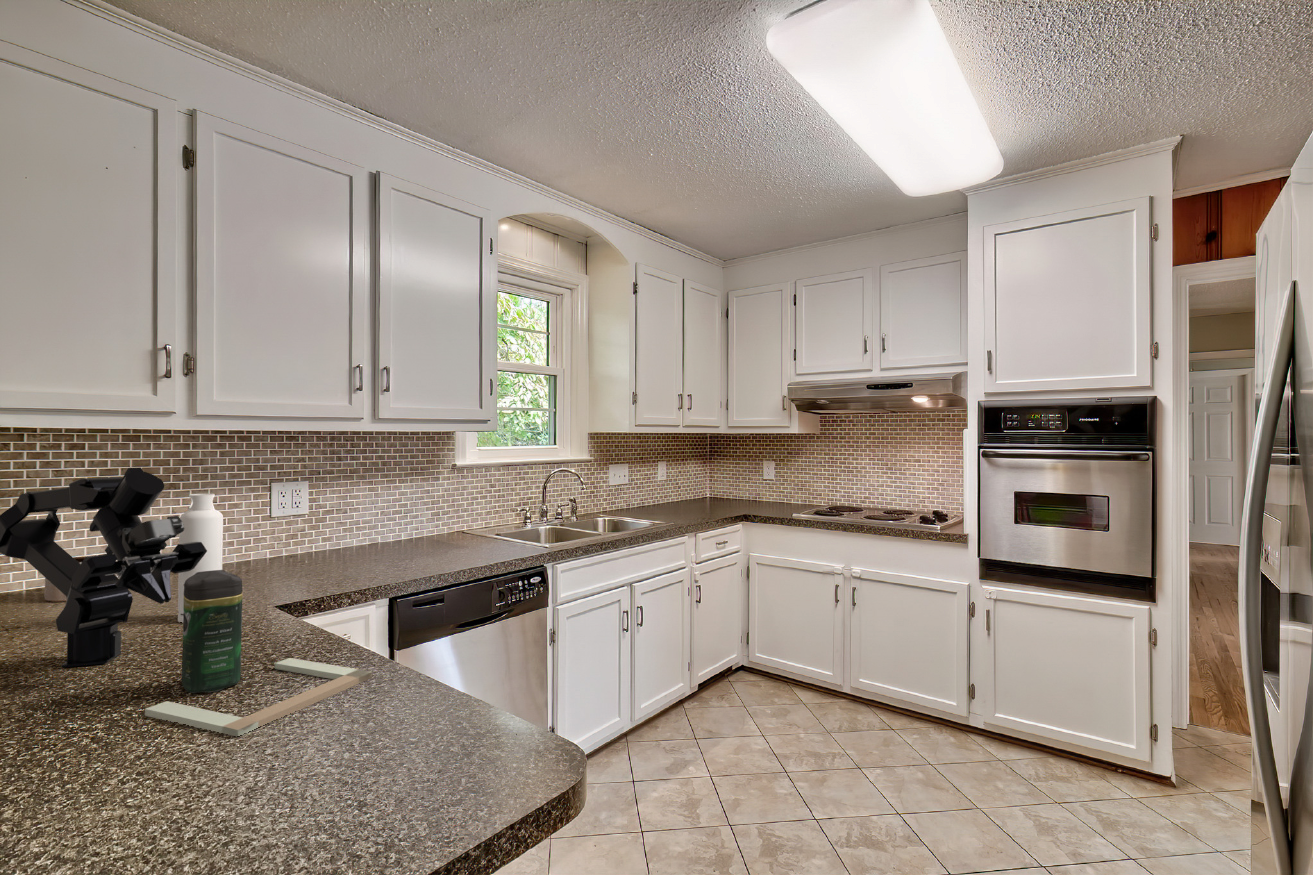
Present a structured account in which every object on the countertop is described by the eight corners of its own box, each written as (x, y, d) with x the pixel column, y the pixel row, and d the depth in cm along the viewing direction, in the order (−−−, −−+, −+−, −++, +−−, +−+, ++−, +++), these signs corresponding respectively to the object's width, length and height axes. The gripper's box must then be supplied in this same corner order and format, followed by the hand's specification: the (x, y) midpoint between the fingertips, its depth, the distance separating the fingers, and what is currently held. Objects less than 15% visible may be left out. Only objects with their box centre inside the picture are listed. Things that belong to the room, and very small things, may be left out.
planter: (53, 595, 165) (54, 557, 165) (107, 591, 170) (108, 554, 170) (36, 604, 156) (37, 565, 156) (94, 600, 161) (95, 561, 161)
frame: (144, 715, 94) (145, 708, 94) (289, 663, 116) (289, 657, 116) (237, 737, 87) (238, 729, 87) (372, 677, 110) (372, 671, 110)
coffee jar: (245, 686, 105) (247, 573, 105) (186, 699, 100) (188, 579, 100) (234, 671, 112) (236, 564, 112) (178, 682, 107) (180, 570, 107)
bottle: (176, 617, 145) (178, 493, 146) (219, 611, 151) (221, 492, 151) (179, 625, 139) (181, 496, 140) (223, 618, 145) (226, 494, 145)
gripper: (84, 507, 103) (127, 581, 99) (201, 498, 121) (242, 561, 117) (52, 552, 106) (94, 627, 102) (171, 537, 123) (211, 600, 120)
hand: (166, 601), depth 110 cm, fingers closed
